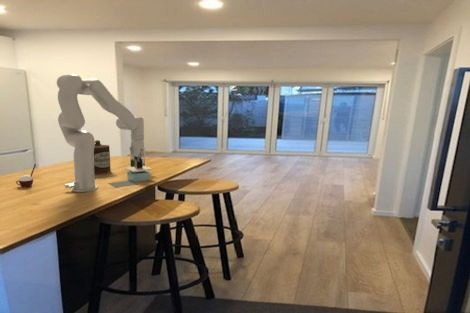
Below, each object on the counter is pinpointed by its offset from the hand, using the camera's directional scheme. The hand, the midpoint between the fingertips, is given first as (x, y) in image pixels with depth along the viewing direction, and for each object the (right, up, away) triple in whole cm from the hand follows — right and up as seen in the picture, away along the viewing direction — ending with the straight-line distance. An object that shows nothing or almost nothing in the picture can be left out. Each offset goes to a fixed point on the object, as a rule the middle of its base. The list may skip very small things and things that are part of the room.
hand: (138, 166), depth 185 cm
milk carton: (-7, -5, +20) cm, 22 cm away
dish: (0, -8, +1) cm, 8 cm away
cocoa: (-55, -10, -20) cm, 59 cm away
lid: (0, -2, 0) cm, 2 cm away
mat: (-5, -10, -11) cm, 16 cm away
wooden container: (-34, -5, +21) cm, 40 cm away
